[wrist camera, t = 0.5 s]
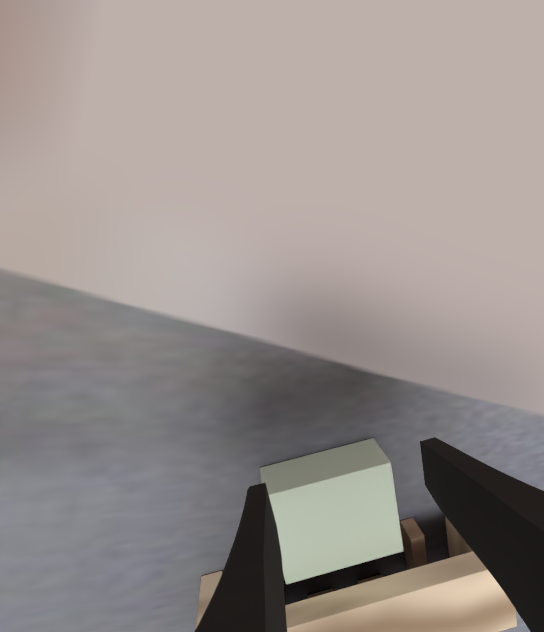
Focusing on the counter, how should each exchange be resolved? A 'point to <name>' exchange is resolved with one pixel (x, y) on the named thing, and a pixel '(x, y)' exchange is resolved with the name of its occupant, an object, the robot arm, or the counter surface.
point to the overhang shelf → (404, 595)
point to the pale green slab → (333, 509)
